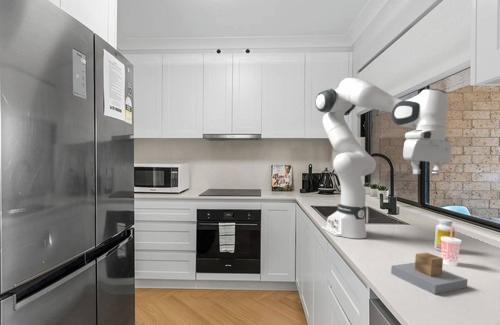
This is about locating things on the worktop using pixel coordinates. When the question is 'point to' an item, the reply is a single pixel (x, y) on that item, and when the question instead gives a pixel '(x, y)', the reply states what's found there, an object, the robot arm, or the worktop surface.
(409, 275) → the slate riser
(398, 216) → the worktop surface
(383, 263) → the worktop surface
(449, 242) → the beverage cup
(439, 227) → the supplement bottle
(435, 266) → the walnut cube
